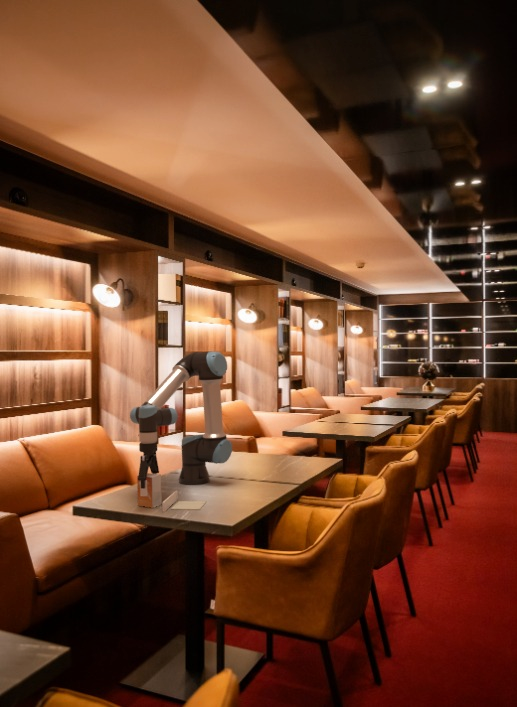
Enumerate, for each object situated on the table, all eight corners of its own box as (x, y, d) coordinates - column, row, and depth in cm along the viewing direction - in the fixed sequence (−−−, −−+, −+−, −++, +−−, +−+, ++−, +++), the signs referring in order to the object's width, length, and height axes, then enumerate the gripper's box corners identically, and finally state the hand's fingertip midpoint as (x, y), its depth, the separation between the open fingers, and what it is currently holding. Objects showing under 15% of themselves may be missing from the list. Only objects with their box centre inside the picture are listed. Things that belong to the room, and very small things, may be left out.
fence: (175, 499, 259) (175, 490, 259) (177, 499, 259) (177, 490, 259) (162, 512, 239) (162, 502, 239) (164, 512, 239) (164, 502, 239)
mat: (178, 502, 255) (178, 501, 255) (206, 502, 253) (206, 501, 253) (171, 509, 243) (171, 508, 243) (199, 509, 241) (199, 508, 241)
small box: (137, 506, 250) (136, 475, 250) (147, 502, 255) (146, 472, 255) (152, 508, 246) (151, 477, 246) (162, 504, 251) (161, 474, 251)
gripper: (149, 438, 263) (149, 485, 263) (129, 446, 238) (130, 499, 238) (165, 438, 262) (166, 485, 262) (147, 446, 237) (148, 499, 237)
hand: (149, 492), depth 250 cm, fingers open, 13 cm apart
